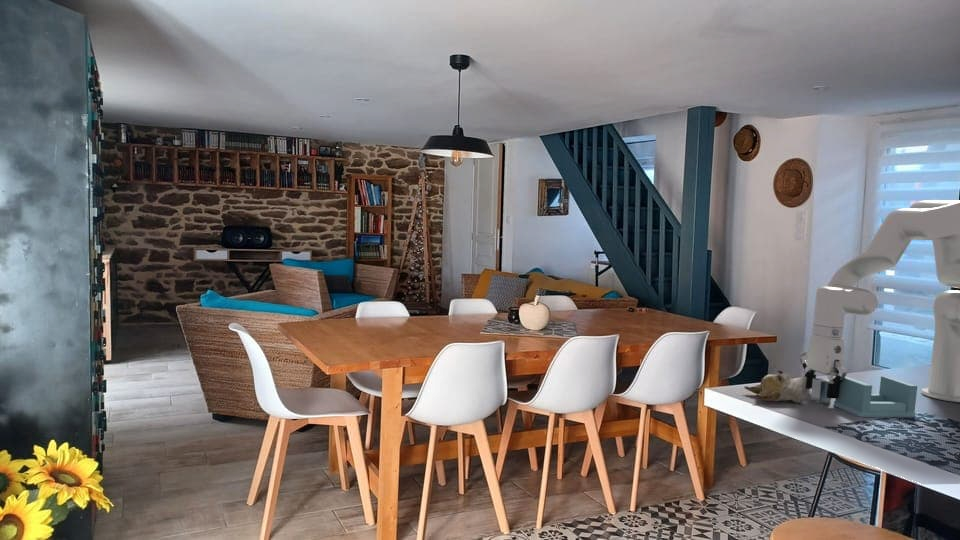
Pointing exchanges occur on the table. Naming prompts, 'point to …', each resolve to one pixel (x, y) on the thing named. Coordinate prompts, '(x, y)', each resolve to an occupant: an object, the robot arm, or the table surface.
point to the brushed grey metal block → (820, 390)
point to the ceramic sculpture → (780, 388)
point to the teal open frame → (877, 398)
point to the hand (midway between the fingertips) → (820, 393)
